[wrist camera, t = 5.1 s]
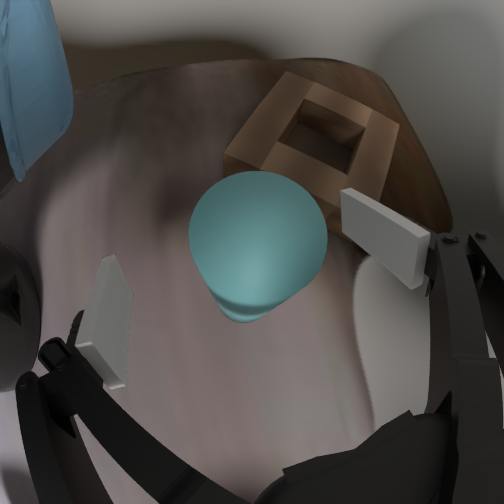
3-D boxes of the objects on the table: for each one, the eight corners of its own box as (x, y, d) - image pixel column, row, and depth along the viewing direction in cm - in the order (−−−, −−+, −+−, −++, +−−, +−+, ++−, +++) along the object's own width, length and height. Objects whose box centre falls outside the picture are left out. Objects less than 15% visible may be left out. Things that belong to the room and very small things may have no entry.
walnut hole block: (224, 179, 24) (223, 152, 20) (280, 98, 28) (286, 70, 24) (351, 242, 23) (371, 225, 19) (383, 147, 27) (399, 124, 23)
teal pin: (207, 307, 21) (162, 259, 8) (232, 261, 22) (231, 152, 9) (255, 331, 21) (293, 327, 7) (279, 285, 22) (345, 207, 9)
